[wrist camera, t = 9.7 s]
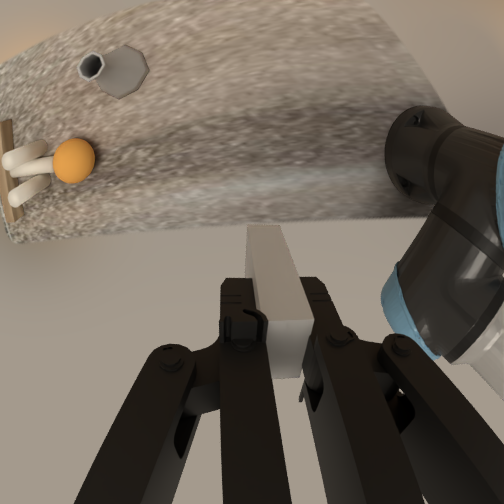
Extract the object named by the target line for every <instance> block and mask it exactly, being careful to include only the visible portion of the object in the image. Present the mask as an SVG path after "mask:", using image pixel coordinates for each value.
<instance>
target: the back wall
mask: <svg viewBox="0 0 504 504" xmlns="http://www.w3.org/2000/svg"><path fill="white" fill-rule="evenodd" d="M11 150H14V146H13V133H12V119H11V120H7V121H3V122H0V194H1V199H2V204H3V209H4V213H5V217H6V222H15V221H17V220H18V219H19V218H20V217H22V216H23V215H24V211H23V207H22V204H21V205H20V206H18V207H16V208H15V207H12V206H11V205H10V203H9V201H8V194H9V192H10V191H11V190H13V189H14V188H16V187H18V186H19V185H18V178H17V177H16V178H13V177H11V175H10V170H9V171H7V170H5V169H4V168H3V165H2V157H3V155H4V154H5V153H6V152H9V151H11Z"/></svg>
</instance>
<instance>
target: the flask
mask: <svg viewBox="0 0 504 504" xmlns="http://www.w3.org/2000/svg"><path fill="white" fill-rule="evenodd" d="M77 71H78V74H79V76H80V78H82V79H84V80H86V81H88V82H90V81H92V80H94V79H95V80H96V82H97V83H98V85H99V87H100V89H101V90H102V91H103V92H105V93H107V94H109V95H111V96H113V97H115V98H117V99H120V98H122V97H124V96H126V95H128V94H130V93H132V92H134V91H136V90H138V88H139V86H140V85H141V83H142V82H143V80H144V78H145V77H146V75H147V73H148V72H149V69H148V66H147V64H146V61H145V59H144V56H143V54H142V52H140V51H137V50H135V49H133V48H131V47H129V46H127V45H124V46H121V47H120V48H118V49H116V50H114V51H112V52H110V53H108V54H105V55H102V54H99V53H97V52H95V51H91V52H90V53H88V54H86V55H85V56H83V57H82V58H81V60H80V62H79V64H78V66H77Z"/></svg>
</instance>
